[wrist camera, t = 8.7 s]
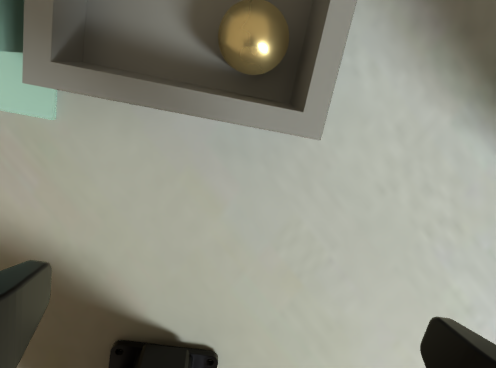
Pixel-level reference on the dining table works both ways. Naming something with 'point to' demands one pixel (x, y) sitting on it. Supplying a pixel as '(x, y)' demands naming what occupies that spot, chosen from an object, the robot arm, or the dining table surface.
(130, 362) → the robot arm
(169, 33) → the tub
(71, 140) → the dining table surface
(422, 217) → the dining table surface
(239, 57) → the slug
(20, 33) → the lid
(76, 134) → the dining table surface
